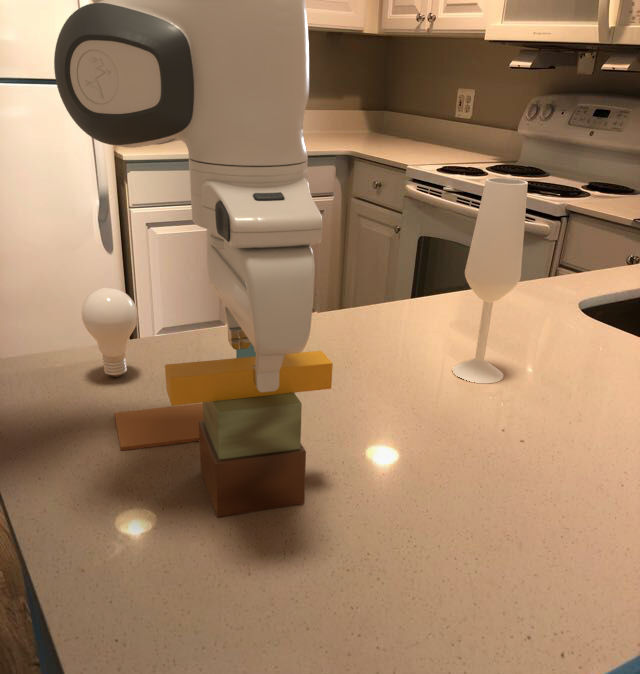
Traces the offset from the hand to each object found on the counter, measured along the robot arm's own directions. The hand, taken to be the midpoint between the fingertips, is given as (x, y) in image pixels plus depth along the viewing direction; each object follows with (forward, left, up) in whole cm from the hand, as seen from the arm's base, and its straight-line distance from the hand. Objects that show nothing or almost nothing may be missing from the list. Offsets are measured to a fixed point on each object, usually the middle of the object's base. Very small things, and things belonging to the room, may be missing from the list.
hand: (251, 366), depth 61 cm
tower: (0, 0, -12) cm, 12 cm away
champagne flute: (+35, +19, -13) cm, 42 cm away
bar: (0, 0, -2) cm, 2 cm away
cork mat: (-4, +14, -12) cm, 19 cm away
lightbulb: (-10, +29, -13) cm, 33 cm away
